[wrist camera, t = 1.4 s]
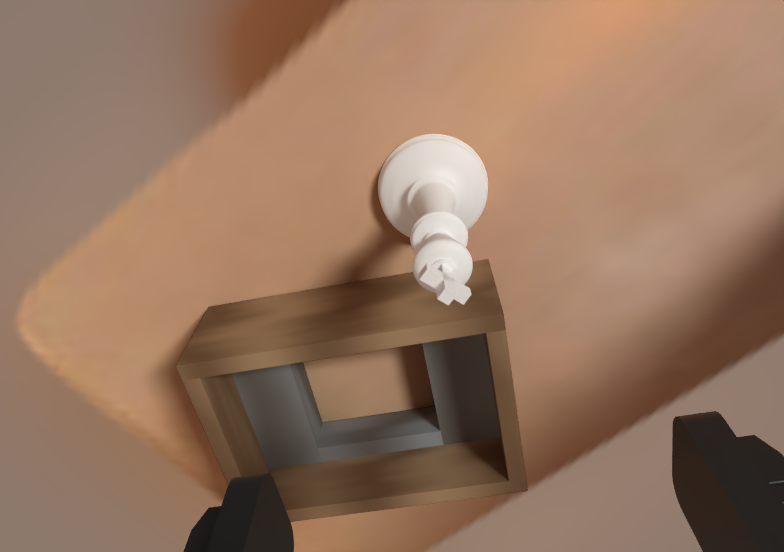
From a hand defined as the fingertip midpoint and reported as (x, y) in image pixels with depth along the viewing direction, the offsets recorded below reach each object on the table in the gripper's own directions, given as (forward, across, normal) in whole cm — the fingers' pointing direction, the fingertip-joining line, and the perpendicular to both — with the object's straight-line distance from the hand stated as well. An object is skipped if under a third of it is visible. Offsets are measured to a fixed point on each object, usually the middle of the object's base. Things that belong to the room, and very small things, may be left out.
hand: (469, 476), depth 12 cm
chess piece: (+18, 0, 0) cm, 18 cm away
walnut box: (+17, +5, +9) cm, 20 cm away
